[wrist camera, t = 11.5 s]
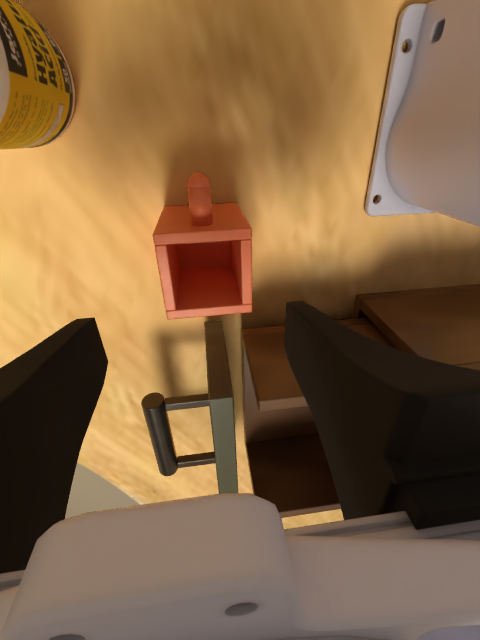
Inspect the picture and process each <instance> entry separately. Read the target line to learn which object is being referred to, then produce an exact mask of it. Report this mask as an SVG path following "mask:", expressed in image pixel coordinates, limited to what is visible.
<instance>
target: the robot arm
mask: <svg viewBox="0 0 480 640" xmlns="http://www.w3.org/2000/svg"><path fill="white" fill-rule="evenodd" d="M404 41H406V43H407V50H406V52H405V53H403V51H402V44H403V42H404ZM376 195H378V199H377V201H376V202H374V203H373V198H374V196H376ZM365 212H366V213H367V214H368V215H370V216H386V215H403V214H420V213H440V214H443V215H446V216H449V217H452V218H455V219H458V220H461V221H465V222H468V223H471V224H474V225H477V226H480V0H433V1H431V2H429V3H414V4H410V5H409V6H407V7H406V8H405V9H403V11H402V12H401V14H400V16H399V19H398V24H397V30H396V35H395V41H394V46H393V52H392V58H391V63H390V69H389V75H388V80H387V86H386V91H385V97H384V103H383V108H382V114H381V119H380V125H379V131H378V136H377V142H376V147H375V153H374V159H373V164H372V170H371V175H370V181H369V187H368V192H367V198H366V203H365ZM284 347H285V351H286V354H287V358H288V361H289V364H290V367H291V369H292V372H293V374H294V376H295V378H296V380H297V383H298V385H299V387H300V389H301V391H302V393H303V396H304V398H305V400H306V402H307V404H308V406H309V409H310V411H311V413H312V416H313V418H314V421H315V423H316V426H317V429H318V432H319V435H320V438H321V441H322V444H323V448H324V451H325V454H326V457H327V461H328V464H329V467H330V470H331V474H332V477H333V481H334V484H335V488H336V491H337V495H338V498H339V502H340V506H341V510H342V513H343V517H344V520H343V521H336V522H330V523H323V524H317V525H310V526H304V527H298V528H291V529H285V530H284V528H283V524H282V519H281V517H280V514H279V512H278V510H277V508H276V505H275V504H273V503H271V502H269V501H267V500H265V499H262V498H260V497H258V496H255V495H253V494H250V493H222V494H215V495H208V496H201V497H194V498H187V499H180V500H172V501H165V502H158V503H151V504H144V505H138V506H130V507H123V508H116V509H109V510H102V511H94V512H87V513H84V514H81V515H78V516H74V517H71V518H68V519H65V514H66V508H67V504H68V499H69V495H70V490H71V485H72V480H73V476H74V472H75V468H76V464H77V460H78V456H79V452H80V449H81V445H82V442H83V439H84V436H85V434H86V431H87V428H88V426H89V423H90V420H91V418H92V415H93V412H94V410H95V407H96V404H97V402H98V399H99V396H100V393H101V391H102V388H103V385H104V380H105V376H106V371H107V365H108V360H107V356H106V353H105V350H104V347H103V344H102V340H101V337H100V334H99V331H98V328H97V324H96V321H95V318H83V319H76V320H74V321H72V322H71V323H69V324H67V325H66V326H64V327H63V328H61V329H60V330H58V331H57V332H55V333H54V334H53V335H51V336H50V337H48V338H47V339H45V340H44V341H42V342H41V343H39V344H38V345H36V346H35V347H33V348H32V349H30V350H29V351H27V352H26V353H24V354H23V355H21V356H19V357H18V358H16V359H15V360H13V361H11V362H10V363H8V364H7V365H5V366H3V367H2V368H0V640H480V370H475V369H470V368H465V367H459V366H455V365H450V364H446V363H442V362H438V361H434V360H430V359H427V358H423V357H420V356H416V355H413V354H410V353H407V352H404V351H401V350H398V349H395V348H393V347H390V346H387V345H385V344H382V343H380V342H378V341H375V340H373V339H370V338H368V337H366V336H364V335H362V334H360V333H358V332H356V331H354V330H352V329H350V328H348V327H346V326H344V325H343V324H341V323H339V322H337V321H336V320H334V319H332V318H331V317H329V316H327V315H326V314H324V313H322V312H321V311H319V310H317V309H316V308H314V307H313V306H311V305H309V304H307V303H306V302H304V301H293V302H287V305H286V320H285V335H284Z"/></svg>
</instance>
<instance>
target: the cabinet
mask: <svg viewBox="0 0 480 640" xmlns="http://www.w3.org/2000/svg"><path fill="white" fill-rule="evenodd" d="M359 318H369V319H370V320H371V321H372V322H373V323H374V324H375V325H376V326H377V328H378V329H379V330H380V331H381V332H382V333H383V334H384V335H385V336H386V337H387V338H388V339H389V340H390V341H391V342H392V343H393V344H394V346H395V347H396V348H397V349H398V350H401V351H404V352H407V353H410V354H413V355H416V356H420V357H423V358H427V359H430V360H434V361H438V362H442V363H446V364H450V365H455V366H459V367H465V368H470V369H475V370H480V284H479V285H467V286H455V287H443V288H431V289H419V290H407V291H396V292H384V293H372V294H360V295H357V297H356V302H355V307H354V312H353V317H352V319H359Z"/></svg>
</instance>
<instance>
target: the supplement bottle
mask: <svg viewBox="0 0 480 640" xmlns="http://www.w3.org/2000/svg"><path fill="white" fill-rule="evenodd" d="M74 107H75V89H74V82H73V78H72V74H71V71H70V68H69V66H68V63H67V61H66V59H65V57H64V55H63V53H62V51H61V49H60V48H59V46H58V44H57V43H56V41H55V40H54V38H53V37H52V36H51V35H50V33H49V32H48V31H47V30H46V29H45V27H44V26H43V25H42V24H41V23H40V22H39V21H38V20H37V19H35V18H34V17H33V16H32V15H31V14H30V13H29V12H27V11H26V10H25V9H24V8H23V7H21V6H20V5H19V4H17V3H16V2H15V1H13V0H0V149H16V148H32V147H39V146H43V145H46V144H49V143H51V142H53V141H54V140H56V139H57V138H59V137H60V136H61V135H62V134H63V133H64V131H65V130H66V129H67V127H68V125H69V123H70V121H71V119H72V116H73V112H74Z"/></svg>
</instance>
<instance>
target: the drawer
mask: <svg viewBox="0 0 480 640" xmlns="http://www.w3.org/2000/svg"><path fill="white" fill-rule="evenodd" d="M337 322H339V323H341V324H343V325H344V326H346V327H348V328H350V329H352V330H354V331H356V332H358V333H360V334H362V335H364V336H366V337H368V338H370V339H373V340H375V341H378V342H380V343H382V344H385V345H387V346H390V347H393V348H395V349H397V348H396V347H395V346H394V344H393V343H392V342H391V341H390V340H389V339H388V338H387V337H386V336H385V335H384V334H383V333H382V332H381V331H380V330H379V329H378V328H377V326H376V325H375V324H374V323H373V322H372V321H371V320H370V319H369V318H359V319H348V320H337ZM204 324H205V342H206V360H207V378H208V394H199V395H190V396H181V397H172V398H165V400H164V396H163V395H162V394H160V393H150V394H148V395H146V396H145V397H144V398H143V399H142V402H141V405H142V408H143V412H144V416H145V419H146V423H147V427H148V430H149V434H150V438H151V441H152V445H153V449H154V453H155V456H156V460H157V464H158V467H159V471H160V473H161V474H162V475H164V476H171V475H173V474H174V473H175V472H176V471H177V469H178V468H182V467H190V466H197V465H205V464H212V463H216V471H217V480H218V489H219V494H222V493H238V479H237V460H236V440H235V421H234V401H233V392H232V385H231V378H230V372H229V365H228V358H227V352H226V345H225V338H224V332H223V325H222V321H221V320H219V321H208V322H205V323H204ZM284 335H285V325H282V326H272V327H261V328H250V329H242V367H243V403H244V439H245V447H246V453H247V459H248V465H249V471H250V477H251V483H252V489H253V495H255V496H258V497H260V498H262V499H265V500H267V501H269V502H271V503H273V504H275V505H276V508H277V510H278V512H279V514H280V517H281V518H284V517H290V516H297V515H303V514H310V513H316V512H323V511H330V510H336V509H341V506H340V502H339V498H338V495H337V491H336V488H335V484H334V481H333V477H332V474H331V470H330V467H329V464H328V461H327V457H326V454H325V451H324V448H323V444H322V441H321V438H320V435H319V432H318V429H317V426H316V423H315V421H314V418H313V416H312V413H311V411H310V409H309V406H308V404H307V402H306V400H305V398H304V396H303V393H302V391H301V389H300V387H299V385H298V383H297V380H296V378H295V376H294V374H293V372H292V369H291V367H290V364H289V361H288V358H287V354H286V351H285V347H284ZM205 406H209V407H210V416H211V425H212V434H213V443H214V452H208V453H201V454H193V455H185V456H178V457H177V456H176V451H175V446H174V442H173V437H172V432H171V428H170V423H169V418H168V414H167V411H170V410H179V409H187V408H196V407H205Z"/></svg>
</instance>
